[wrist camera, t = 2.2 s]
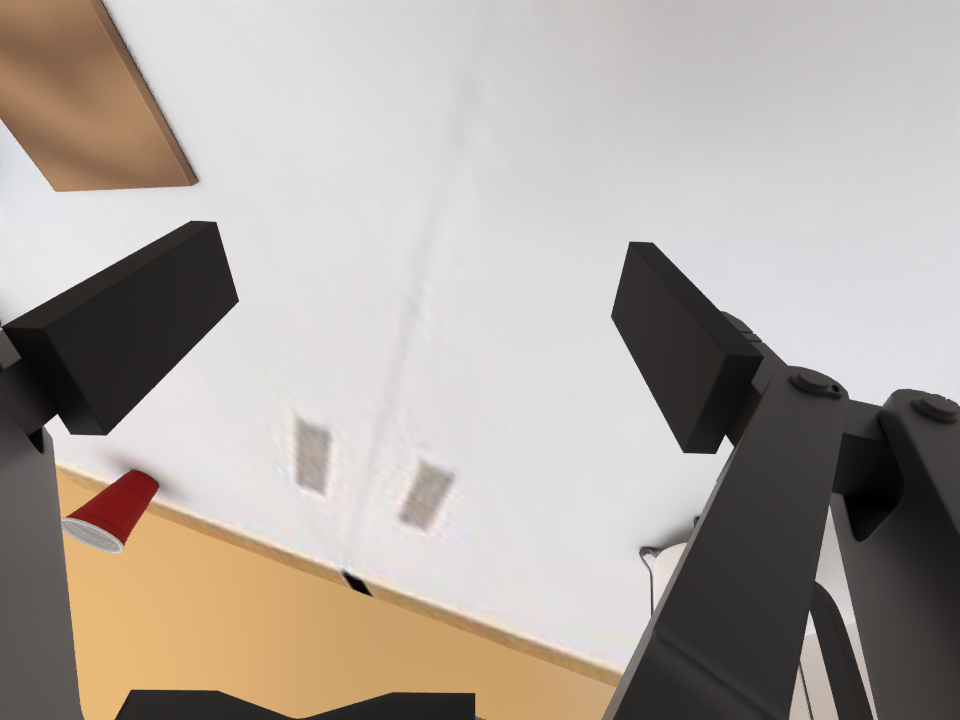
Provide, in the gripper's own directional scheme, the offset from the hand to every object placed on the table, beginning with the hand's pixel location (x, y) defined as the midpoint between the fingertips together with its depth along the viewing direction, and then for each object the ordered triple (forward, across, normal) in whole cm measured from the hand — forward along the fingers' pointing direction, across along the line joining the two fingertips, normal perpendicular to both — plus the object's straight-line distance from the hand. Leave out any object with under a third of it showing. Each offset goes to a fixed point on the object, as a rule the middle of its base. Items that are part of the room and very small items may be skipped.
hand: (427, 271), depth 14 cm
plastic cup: (+42, -57, -62) cm, 94 cm away
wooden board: (+23, -28, +6) cm, 37 cm away
